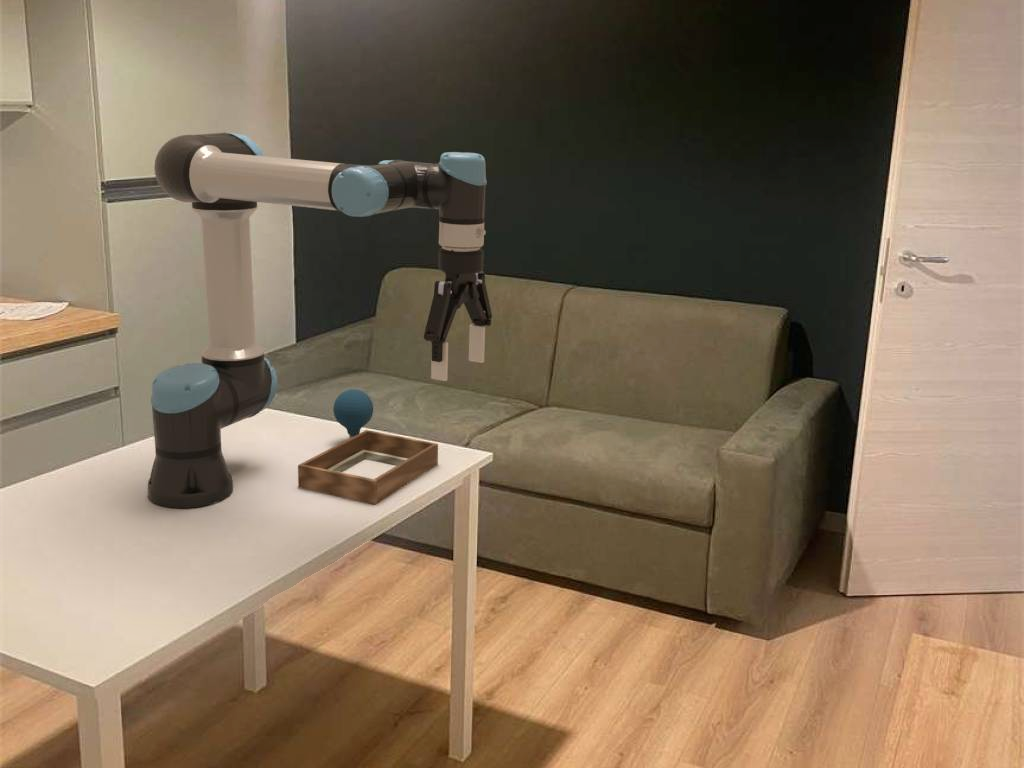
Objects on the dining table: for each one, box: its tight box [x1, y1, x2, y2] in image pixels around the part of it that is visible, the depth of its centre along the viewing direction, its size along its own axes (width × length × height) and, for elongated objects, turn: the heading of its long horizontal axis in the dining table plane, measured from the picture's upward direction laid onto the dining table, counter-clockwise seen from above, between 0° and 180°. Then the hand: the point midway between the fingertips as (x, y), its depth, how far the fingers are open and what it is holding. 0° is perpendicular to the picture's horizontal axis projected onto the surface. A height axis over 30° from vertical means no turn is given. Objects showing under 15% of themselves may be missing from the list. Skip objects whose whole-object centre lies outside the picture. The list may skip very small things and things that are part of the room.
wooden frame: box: [297, 429, 439, 505], centre depth 207 cm, size 17×24×4 cm
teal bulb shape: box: [332, 388, 374, 439], centre depth 223 cm, size 8×8×12 cm
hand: (458, 370), depth 181 cm, fingers open, 13 cm apart
